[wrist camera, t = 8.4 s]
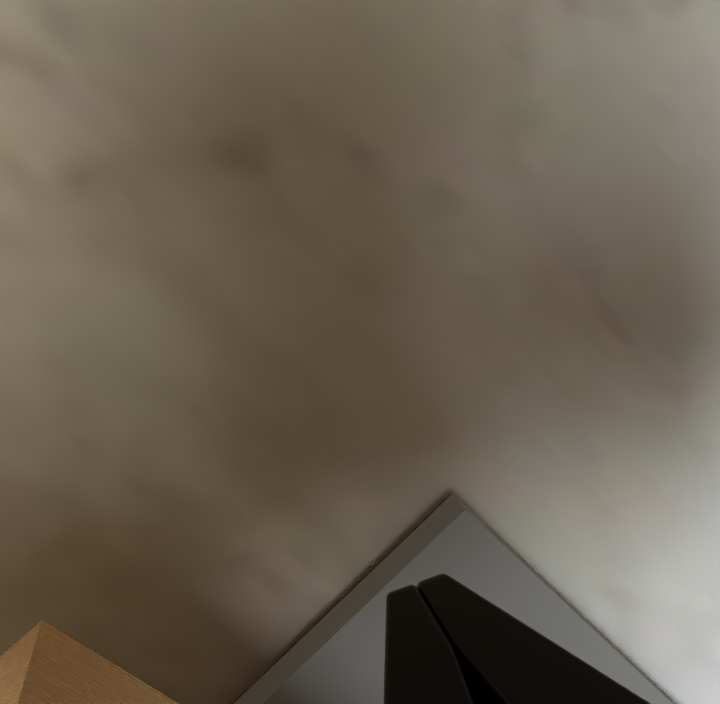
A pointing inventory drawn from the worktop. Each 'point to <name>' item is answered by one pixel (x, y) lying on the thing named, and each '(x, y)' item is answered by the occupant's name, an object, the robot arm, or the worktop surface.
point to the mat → (410, 566)
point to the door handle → (66, 674)
